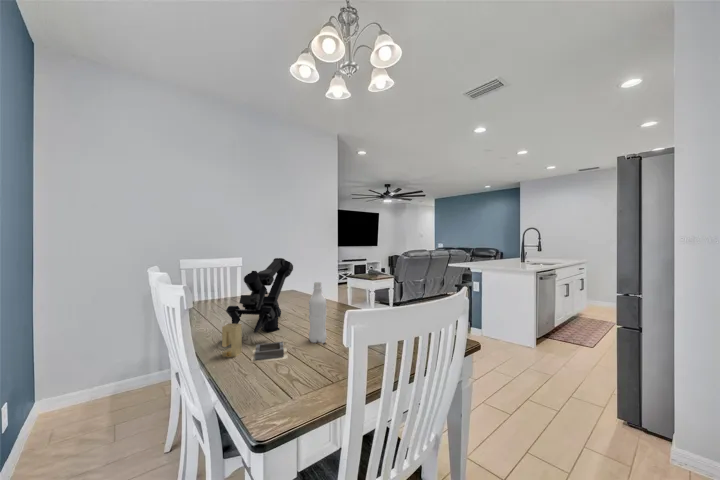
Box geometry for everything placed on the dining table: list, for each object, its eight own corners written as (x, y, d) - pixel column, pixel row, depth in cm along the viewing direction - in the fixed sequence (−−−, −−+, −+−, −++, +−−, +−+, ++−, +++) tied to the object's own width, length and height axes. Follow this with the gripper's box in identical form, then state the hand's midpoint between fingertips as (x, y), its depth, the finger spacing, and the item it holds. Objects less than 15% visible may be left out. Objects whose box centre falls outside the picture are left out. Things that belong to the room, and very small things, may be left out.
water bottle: (323, 347, 113) (323, 284, 113) (306, 345, 114) (306, 283, 114) (328, 340, 120) (328, 281, 120) (312, 339, 121) (312, 281, 121)
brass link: (228, 356, 105) (228, 323, 105) (241, 356, 104) (241, 323, 104) (222, 360, 101) (222, 326, 101) (235, 361, 100) (235, 327, 100)
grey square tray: (253, 353, 107) (253, 343, 107) (286, 349, 110) (286, 339, 110) (250, 367, 95) (250, 355, 95) (287, 362, 99) (287, 351, 99)
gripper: (228, 286, 116) (211, 320, 106) (272, 286, 114) (259, 322, 103) (238, 300, 124) (224, 334, 113) (279, 302, 122) (269, 336, 111)
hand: (243, 331), depth 110 cm, fingers open, 9 cm apart
